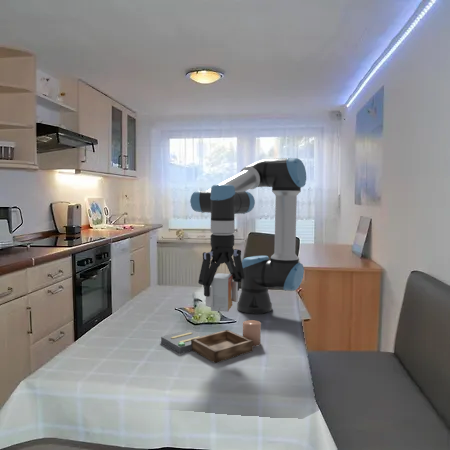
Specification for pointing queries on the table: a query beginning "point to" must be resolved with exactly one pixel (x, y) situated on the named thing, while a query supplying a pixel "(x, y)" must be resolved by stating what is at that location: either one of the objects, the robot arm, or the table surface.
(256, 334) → the peach rounded capsule
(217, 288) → the small box
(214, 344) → the wooden tray
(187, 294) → the table surface
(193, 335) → the grey square slab
